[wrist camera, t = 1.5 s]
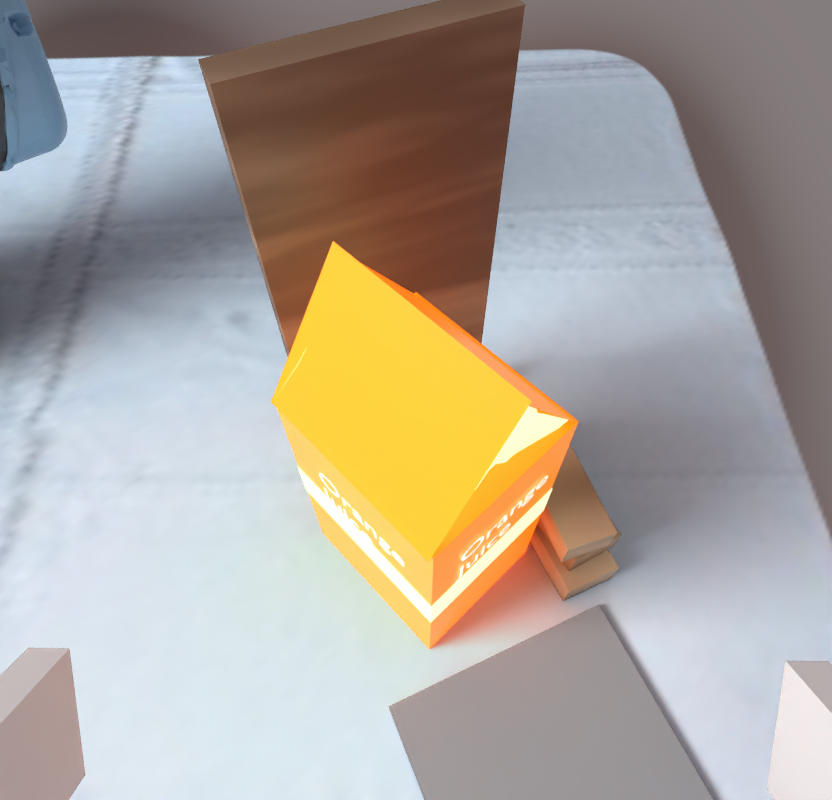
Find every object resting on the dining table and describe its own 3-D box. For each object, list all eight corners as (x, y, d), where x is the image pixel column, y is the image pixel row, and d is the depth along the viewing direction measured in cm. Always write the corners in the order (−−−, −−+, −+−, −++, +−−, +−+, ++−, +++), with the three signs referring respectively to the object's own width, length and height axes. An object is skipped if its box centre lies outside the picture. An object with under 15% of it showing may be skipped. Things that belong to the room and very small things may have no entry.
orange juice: (419, 449, 40) (416, 183, 23) (528, 551, 36) (622, 327, 19) (319, 534, 37) (230, 304, 20) (427, 653, 33) (433, 497, 16)
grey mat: (389, 707, 32) (388, 706, 32) (597, 606, 35) (598, 604, 34) (504, 1006, 26) (505, 1008, 26) (744, 858, 29) (747, 859, 28)
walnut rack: (293, 393, 42) (171, 2, 21) (465, 331, 44) (501, -71, 24) (408, 674, 33) (387, 462, 12) (615, 575, 35) (878, 266, 15)
